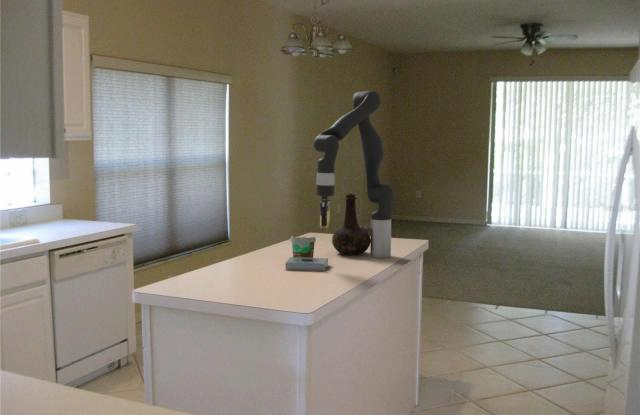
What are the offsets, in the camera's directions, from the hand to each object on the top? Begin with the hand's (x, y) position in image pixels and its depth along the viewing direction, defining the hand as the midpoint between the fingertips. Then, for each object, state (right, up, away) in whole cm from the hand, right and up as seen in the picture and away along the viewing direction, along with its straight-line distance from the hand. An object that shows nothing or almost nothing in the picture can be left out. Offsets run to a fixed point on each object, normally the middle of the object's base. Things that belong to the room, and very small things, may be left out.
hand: (324, 225), depth 265 cm
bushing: (0, -2, 0) cm, 2 cm away
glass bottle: (+13, -15, +34) cm, 39 cm away
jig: (-7, -18, +2) cm, 19 cm away
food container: (-11, -16, +20) cm, 28 cm away
